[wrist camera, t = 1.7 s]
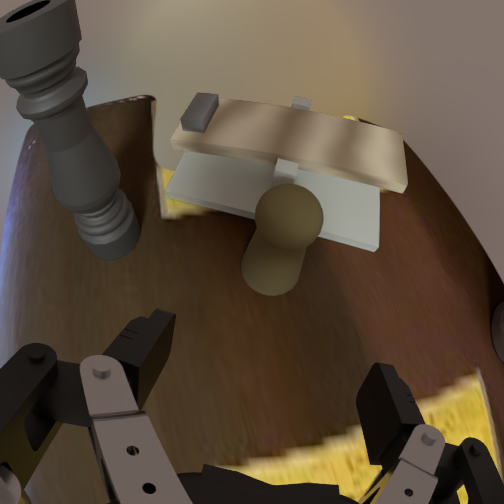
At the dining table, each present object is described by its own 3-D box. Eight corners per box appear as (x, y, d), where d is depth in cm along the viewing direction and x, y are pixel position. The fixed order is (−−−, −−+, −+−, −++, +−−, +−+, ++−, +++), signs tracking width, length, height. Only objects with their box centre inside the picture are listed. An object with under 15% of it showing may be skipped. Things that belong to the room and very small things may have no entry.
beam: (395, 147, 34) (406, 122, 31) (399, 198, 30) (413, 173, 27) (199, 110, 37) (195, 85, 33) (174, 154, 33) (167, 127, 30)
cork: (247, 234, 34) (260, 163, 24) (303, 248, 34) (336, 182, 24) (234, 287, 31) (243, 228, 21) (295, 301, 31) (331, 249, 21)
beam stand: (375, 164, 41) (397, 125, 34) (374, 252, 35) (406, 215, 28) (205, 120, 42) (206, 74, 35) (166, 197, 35) (157, 150, 28)
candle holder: (138, 205, 34) (86, -19, 12) (143, 254, 32) (66, 9, 10) (86, 216, 33) (1, 12, 11) (87, 265, 30) (-37, 53, 8)
